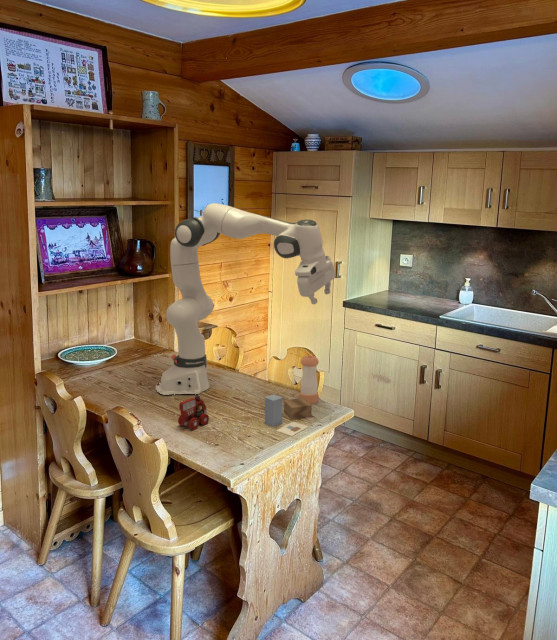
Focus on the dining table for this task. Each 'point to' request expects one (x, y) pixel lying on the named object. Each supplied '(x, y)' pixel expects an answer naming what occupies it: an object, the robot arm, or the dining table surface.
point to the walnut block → (297, 408)
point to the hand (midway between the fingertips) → (321, 298)
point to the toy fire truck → (193, 413)
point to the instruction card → (292, 428)
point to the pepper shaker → (309, 379)
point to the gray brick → (273, 410)
